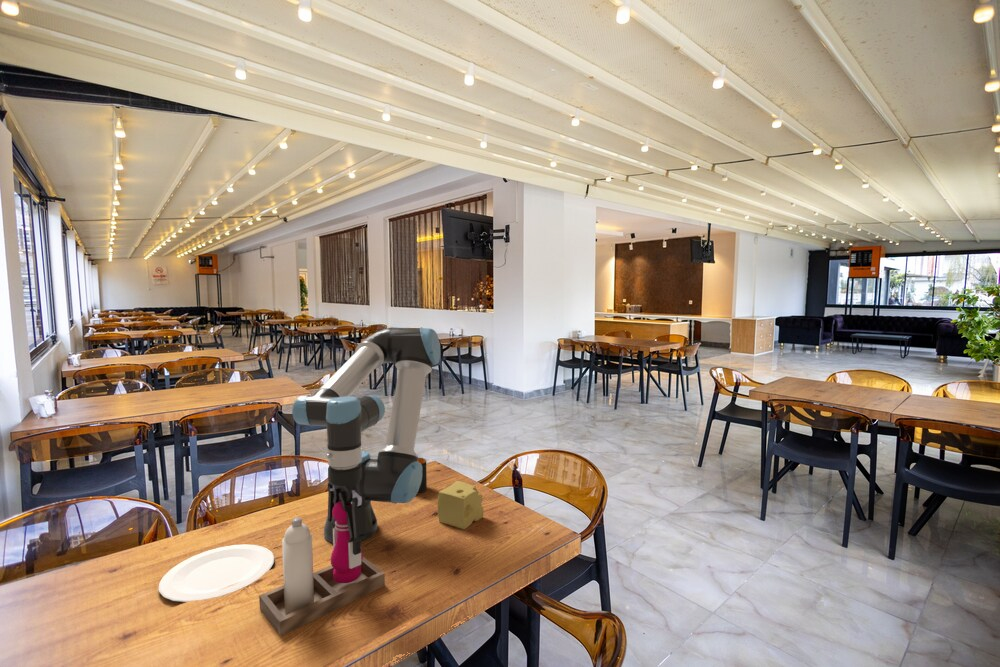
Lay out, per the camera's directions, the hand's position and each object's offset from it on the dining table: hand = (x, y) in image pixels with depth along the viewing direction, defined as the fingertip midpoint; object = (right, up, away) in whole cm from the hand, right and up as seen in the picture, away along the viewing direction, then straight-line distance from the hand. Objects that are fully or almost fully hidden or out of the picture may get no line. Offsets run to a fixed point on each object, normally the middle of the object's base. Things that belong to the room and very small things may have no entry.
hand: (347, 559), depth 112 cm
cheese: (+24, -5, +37) cm, 44 cm away
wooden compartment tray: (-4, -8, -3) cm, 10 cm away
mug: (+6, -4, +59) cm, 59 cm away
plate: (-34, -8, +7) cm, 36 cm away
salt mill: (-8, -7, -7) cm, 13 cm away
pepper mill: (0, -4, 0) cm, 4 cm away
